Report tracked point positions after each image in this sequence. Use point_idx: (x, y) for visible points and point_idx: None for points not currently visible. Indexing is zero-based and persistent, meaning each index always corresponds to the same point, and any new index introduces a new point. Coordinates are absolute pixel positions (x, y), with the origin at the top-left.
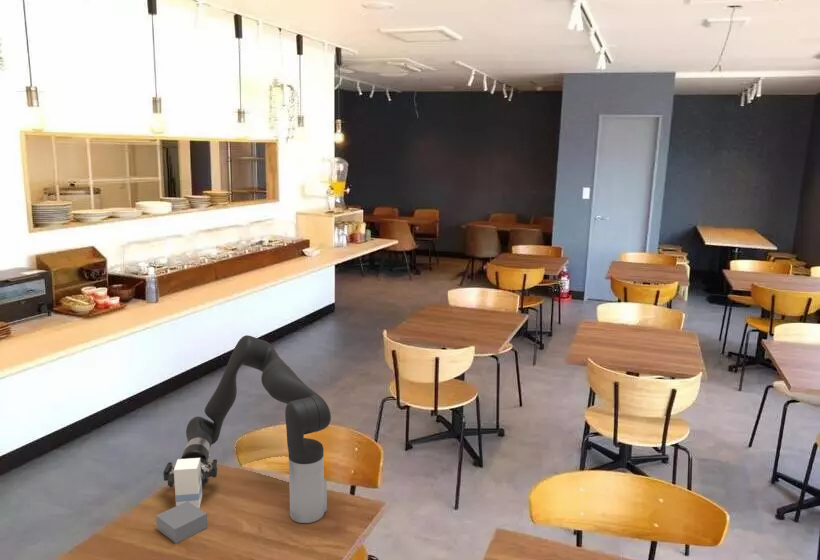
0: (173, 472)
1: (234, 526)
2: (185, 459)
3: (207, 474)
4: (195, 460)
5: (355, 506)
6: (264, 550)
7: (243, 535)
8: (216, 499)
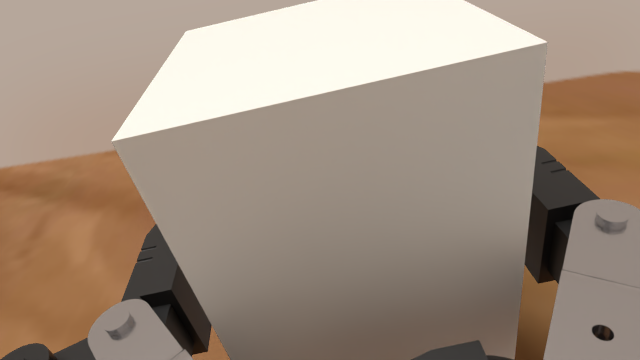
0: (586, 224)
1: (126, 228)
2: (379, 65)
3: (139, 280)
4: (199, 87)
5: None
6: (72, 162)
7: (108, 196)
8: None
